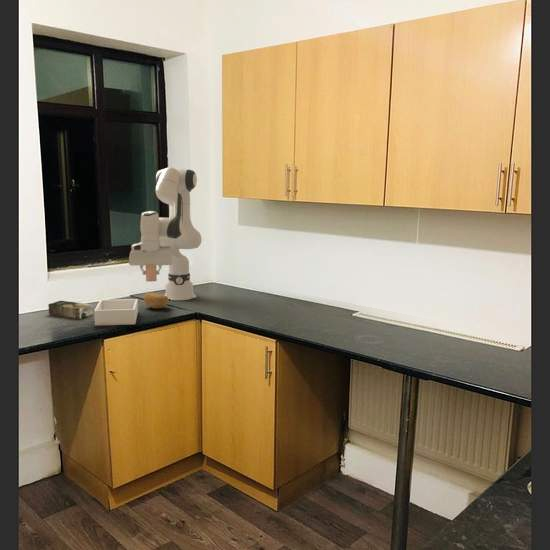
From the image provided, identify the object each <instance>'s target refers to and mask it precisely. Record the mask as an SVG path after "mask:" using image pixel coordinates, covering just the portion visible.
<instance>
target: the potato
mask: <svg viewBox="0 0 550 550" xmlns="http://www.w3.org/2000/svg"><path fill="white" fill-rule="evenodd" d="M143 301H144V303H145V305H146V306H147V307H149V308H151V309H153V310H157V309H163V308H165V307H166V306H167V305H168V304H169V299H168V297H167V296H165V294H162V293H158V292H147V293H145V294H144V295H143Z"/></svg>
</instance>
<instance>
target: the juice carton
mask: <svg viewBox="0 0 550 550" xmlns="http://www.w3.org/2000/svg"><path fill="white" fill-rule="evenodd" d="M47 306H48V314H49V315H50V314H51V315H53V316H55V315H59V316H58V317H61V316H67V317H66V318H69V317H73V318H72V319H77V318H79V320H81V319H84V318H87V316H88V317H90V316H93V304H88V303H84V302H83V303H82V302H75V301H67V300H58V301H55V302H52V303H48V305H47ZM51 315H50V316H51Z"/></svg>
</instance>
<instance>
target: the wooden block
mask: <svg viewBox="0 0 550 550" xmlns="http://www.w3.org/2000/svg"><path fill="white" fill-rule="evenodd" d="M156 270H157V265H145V271H146V275H145V281H146V282H157V275H156Z"/></svg>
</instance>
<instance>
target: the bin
mask: <svg viewBox="0 0 550 550" xmlns="http://www.w3.org/2000/svg"><path fill="white" fill-rule="evenodd" d="M138 314H139V302H138V298H135V299H134V298H131V299H130V298H126V299H123V298H122V299H119V298H118V299H99V301H98V304H97V305H96V307H95V308H94V326H120V325H122V326H123V325H136V323H137V319H138Z"/></svg>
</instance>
